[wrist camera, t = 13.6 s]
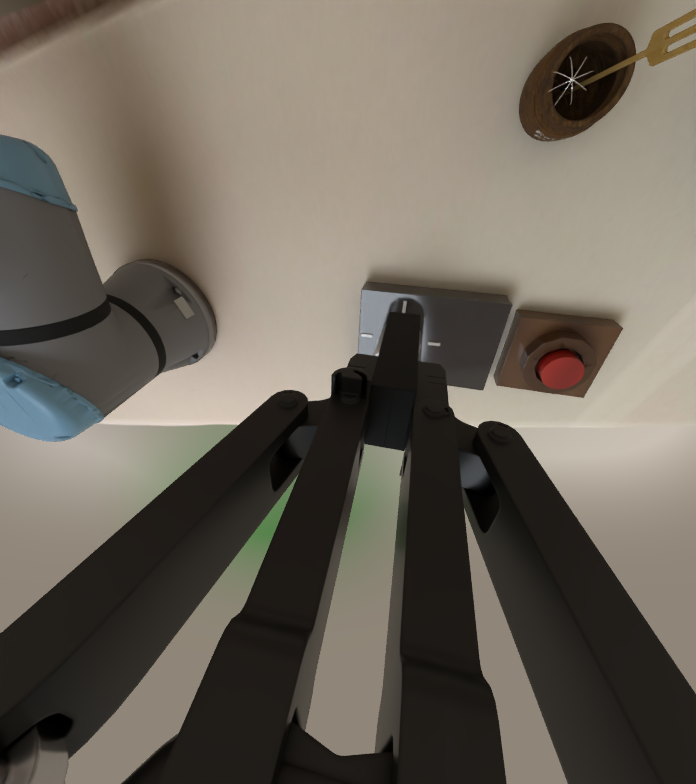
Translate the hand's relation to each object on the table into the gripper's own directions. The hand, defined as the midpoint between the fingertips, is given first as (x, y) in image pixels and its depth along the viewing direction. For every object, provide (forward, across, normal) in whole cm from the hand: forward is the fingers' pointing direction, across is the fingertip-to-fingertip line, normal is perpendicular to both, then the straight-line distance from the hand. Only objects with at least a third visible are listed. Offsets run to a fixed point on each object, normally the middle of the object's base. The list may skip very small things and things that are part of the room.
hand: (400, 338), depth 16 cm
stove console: (+23, +3, -10) cm, 26 cm away
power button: (+20, +17, -10) cm, 28 cm away
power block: (+23, +18, -10) cm, 31 cm away
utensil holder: (+24, +10, +12) cm, 28 cm away
